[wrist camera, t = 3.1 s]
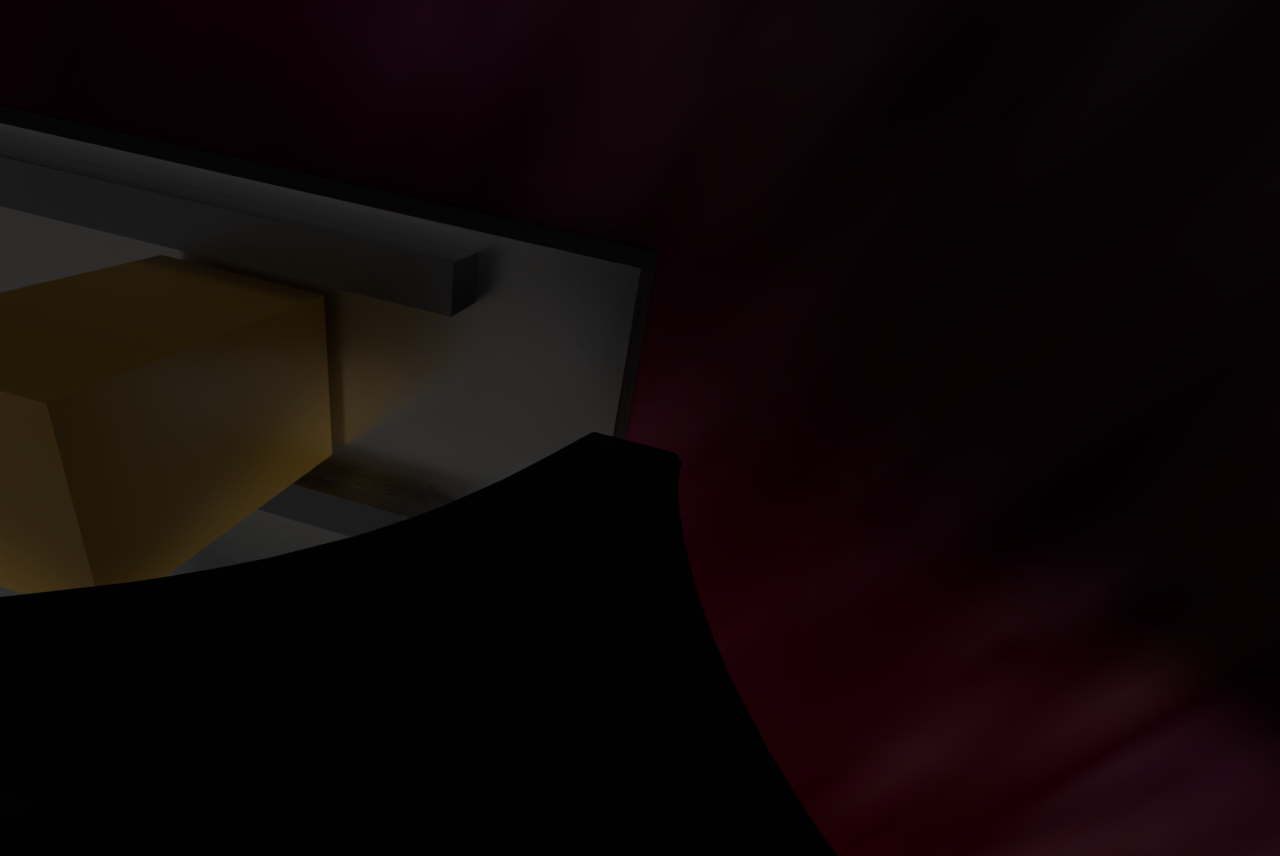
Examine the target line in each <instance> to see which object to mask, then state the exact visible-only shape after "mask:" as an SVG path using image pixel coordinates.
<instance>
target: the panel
mask: <svg viewBox="0 0 1280 856" xmlns="http://www.w3.org/2000/svg"><path fill="white" fill-rule="evenodd" d="M158 255H165V256H169V257H173V258H177V259H181V260H185V261H189V262H193V263H197V264H201V265H205V266H209V267H214V268H218V269H222V270H226V271H230V272H234V273H238V274H242V275H246V276H250V277H254V278H258V279H262V280H266V281H270V282H274V283H278V284H282V285H286V286H290V287H294V288H298V289H302V290H306V291H310V292H314V293H318V294H323V295H324V304H325V324H326V343H327V363H328V382H329V402H330V421H331V441H332V455H331V456H330V457H328V458H327V459H325V460H324V461H323V462H321V463H320V464H319V465H317V466H316V467H314V468H313V469H312V470H310V471H309V472H308V473H306V474H305V475H304V476H302V477H301V478H299V479H298V480H297V481H295V482H294V483H293V484H291V485H290V486H288V487H287V488H286V489H284V490H283V491H282V492H280V493H279V494H277V495H276V496H275V497H273V498H272V499H271V500H269V501H268V502H266V503H265V504H264V505H262V506H261V507H260V508H258V509H257V510H255V511H254V512H253V513H251V514H250V515H249V516H247V517H246V518H244V519H243V520H242V521H240V522H239V523H238V524H236V525H235V526H234V527H232V528H231V529H229V530H228V531H227V532H225V533H224V534H223V535H221V536H220V537H218V538H217V539H216V540H214V541H213V542H212V543H210V544H209V545H207V546H206V547H205V548H203V549H202V550H201V551H199V552H198V553H196V554H195V555H194V556H192V557H191V558H190V559H188V560H187V561H185V562H184V563H183V564H181V565H180V566H179V567H177V568H176V569H175V570H173V571H172V572H170V573H169V574H168V575H166V576H165V577H167V576H173V575H179V574H185V573H191V572H197V571H203V570H209V569H215V568H220V567H225V566H230V565H235V564H240V563H245V562H250V561H255V560H260V559H265V558H269V557H274V556H278V555H282V554H286V553H290V552H294V551H298V550H302V549H306V548H310V547H314V546H317V545H321V544H325V543H329V542H333V541H337V540H341V539H345V538H349V537H353V536H356V535H360V534H363V533H366V532H370V531H373V530H376V529H379V528H382V527H385V526H388V525H391V524H394V523H397V522H400V521H403V520H406V519H409V518H412V517H415V516H418V515H420V514H423V513H426V512H428V511H431V510H434V509H436V508H439V507H441V506H444V505H446V504H449V503H451V502H453V501H455V500H458V499H460V498H462V497H464V496H467V495H469V494H471V493H473V492H476V491H478V490H480V489H482V488H485V487H487V486H489V485H491V484H493V483H496V482H498V481H500V480H502V479H505V478H507V477H509V476H511V475H513V474H515V473H516V472H518V471H520V470H522V469H524V468H526V467H528V466H530V465H532V464H534V463H536V462H538V461H540V460H542V459H543V458H545V457H547V456H549V455H551V454H553V453H554V452H556V451H558V450H560V449H562V448H564V447H565V446H567V445H569V444H571V443H573V442H575V441H576V440H578V439H580V438H582V437H584V436H586V435H588V434H590V433H592V432H597V433H601V434H605V435H609V436H612V437H616V438H620V439H624V440H625V437H626V431H627V426H628V420H629V414H630V409H631V403H632V397H633V392H634V386H635V380H636V375H637V369H638V363H639V358H640V352H641V346H642V341H643V335H644V330H645V324H646V318H647V313H648V307H649V301H650V296H651V290H652V284H653V279H654V273H655V267H656V262H657V256H658V252H655V251H650V250H646V249H642V248H637V247H633V246H628V245H624V244H619V243H615V242H610V241H606V240H601V239H597V238H592V237H588V236H583V235H579V234H574V233H570V232H565V231H561V230H556V229H552V228H547V227H543V226H538V225H534V224H529V223H525V222H520V221H516V220H511V219H507V218H502V217H498V216H493V215H489V214H485V213H480V212H476V211H471V210H467V209H462V208H458V207H453V206H449V205H444V204H440V203H435V202H431V201H426V200H422V199H417V198H413V197H408V196H404V195H399V194H395V193H390V192H386V191H381V190H377V189H372V188H368V187H363V186H359V185H354V184H350V183H345V182H341V181H336V180H332V179H327V178H323V177H319V176H314V175H310V174H305V173H301V172H296V171H292V170H287V169H283V168H278V167H274V166H269V165H265V164H260V163H256V162H251V161H247V160H242V159H238V158H233V157H229V156H224V155H220V154H215V153H211V152H206V151H202V150H197V149H193V148H188V147H184V146H179V145H175V144H170V143H166V142H161V141H157V140H153V139H148V138H144V137H139V136H135V135H130V134H126V133H121V132H117V131H112V130H108V129H103V128H99V127H94V126H90V125H85V124H81V123H76V122H72V121H67V120H63V119H58V118H54V117H49V116H45V115H40V114H36V113H31V112H27V111H22V110H18V109H13V108H9V107H4V106H0V292H5V291H9V290H13V289H17V288H22V287H26V286H30V285H34V284H39V283H43V282H47V281H52V280H56V279H60V278H64V277H69V276H73V275H77V274H81V273H86V272H90V271H94V270H98V269H103V268H107V267H111V266H116V265H120V264H124V263H128V262H133V261H137V260H141V259H145V258H150V257H154V256H158ZM13 595H22V593H19V592H16V591H13V590H10V589H7V588H4V587H1V586H0V597H4V596H13Z"/></svg>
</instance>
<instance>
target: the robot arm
mask: <svg viewBox="0 0 1280 856" xmlns="http://www.w3.org/2000/svg"><path fill="white" fill-rule="evenodd" d="M681 465H682V462H681V460H680V459H679V457H678V455H677V454H676V453H674V452H670V451H666V450H662V449H658V448H654V447H651V446H647V445H643V444H639V443H635V442H632V441H628V440H624V439H620V438H616V437H612V436H609V435H605V434H601V433H597V432H592V433H590V434H588V435H586V436H584V437H582V438H580V439H578V440H576V441H575V442H573V443H571V444H569V445H567V446H565V447H564V448H562V449H560V450H558V451H556V452H554V453H553V454H551V455H549V456H547V457H545V458H543V459H542V460H540V461H538V462H536V463H534V464H532V465H530V466H528V467H526V468H524V469H522V470H520V471H518V472H516V473H515V474H513V475H511V476H509V477H507V478H505V479H502V480H500V481H498V482H496V483H493V484H491V485H489V486H487V487H485V488H482V489H480V490H478V491H476V492H473V493H471V494H469V495H467V496H464V497H462V498H460V499H458V500H455V501H453V502H451V503H449V504H446V505H444V506H441V507H439V508H436V509H434V510H431V511H428V512H426V513H423V514H420V515H418V516H415V517H412V518H409V519H406V520H403V521H400V522H397V523H394V524H391V525H388V526H385V527H382V528H379V529H376V530H373V531H370V532H366V533H363V534H360V535H356V536H353V537H349V538H345V539H341V540H337V541H333V542H329V543H325V544H321V545H317V546H314V547H310V548H306V549H302V550H298V551H294V552H290V553H286V554H282V555H278V556H274V557H269V558H265V559H260V560H255V561H250V562H245V563H240V564H235V565H230V566H225V567H220V568H215V569H209V570H203V571H197V572H191V573H185V574H179V575H173V576H167V577H161V578H154V579H147V580H140V581H133V582H126V583H119V584H110V585H101V586H92V587H83V588H75V589H66V590H57V591H48V592H39V593H31V594H22V595H13V596H4V597H0V856H837V855H836V854H835V852H834V851H833V849H832V848H831V847H830V845H829V844H828V842H827V841H826V840H825V838H824V837H823V835H822V834H821V833H820V831H819V830H818V828H817V827H816V825H815V824H814V822H813V821H812V819H811V818H810V816H809V815H808V813H807V812H806V810H805V809H804V807H803V806H802V804H801V803H800V801H799V800H798V798H797V796H796V795H795V793H794V791H793V790H792V788H791V786H790V785H789V783H788V781H787V780H786V778H785V776H784V775H783V773H782V772H781V770H780V768H779V767H778V765H777V763H776V762H775V760H774V758H773V757H772V755H771V753H770V752H769V750H768V748H767V746H766V744H765V742H764V741H763V739H762V737H761V735H760V733H759V731H758V729H757V727H756V725H755V723H754V722H753V720H752V718H751V716H750V714H749V712H748V710H747V708H746V706H745V704H744V702H743V701H742V699H741V697H740V695H739V693H738V691H737V689H736V687H735V685H734V683H733V682H732V679H731V677H730V675H729V673H728V671H727V668H726V666H725V664H724V661H723V659H722V657H721V654H720V652H719V650H718V647H717V645H716V643H715V640H714V638H713V635H712V632H711V630H710V627H709V625H708V622H707V619H706V617H705V614H704V611H703V608H702V605H701V602H700V599H699V596H698V593H697V589H696V586H695V582H694V579H693V575H692V571H691V568H690V564H689V560H688V556H687V551H686V547H685V542H684V536H683V530H682V524H681V518H680V510H679V499H678V478H679V474H680V469H681Z"/></svg>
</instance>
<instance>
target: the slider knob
mask: <svg viewBox="0 0 1280 856" xmlns="http://www.w3.org/2000/svg"><path fill="white" fill-rule="evenodd" d="M331 455H332V441H331V421H330V402H329V382H328V363H327V343H326V324H325V304H324V295H323V294H318V293H314V292H310V291H306V290H302V289H298V288H294V287H290V286H286V285H282V284H278V283H274V282H270V281H266V280H262V279H258V278H254V277H250V276H246V275H242V274H238V273H234V272H230V271H226V270H222V269H218V268H214V267H209V266H205V265H201V264H197V263H193V262H189V261H185V260H181V259H177V258H173V257H169V256H165V255H158V256H154V257H150V258H145V259H141V260H137V261H133V262H128V263H124V264H120V265H116V266H111V267H107V268H103V269H98V270H94V271H90V272H86V273H81V274H77V275H73V276H69V277H64V278H60V279H56V280H52V281H47V282H43V283H39V284H34V285H30V286H26V287H22V288H17V289H13V290H9V291H5V292H0V586H1V587H4V588H7V589H10V590H13V591H16V592H19V593H22V594H31V593H39V592H48V591H57V590H66V589H75V588H83V587H92V586H101V585H110V584H119V583H126V582H133V581H140V580H147V579H154V578H161V577H165V576H166V575H168V574H169V573H170V572H172V571H173V570H175V569H176V568H177V567H179V566H180V565H181V564H183V563H184V562H185V561H187V560H188V559H190V558H191V557H192V556H194V555H195V554H196V553H198V552H199V551H201V550H202V549H203V548H205V547H206V546H207V545H209V544H210V543H212V542H213V541H214V540H216V539H217V538H218V537H220V536H221V535H223V534H224V533H225V532H227V531H228V530H229V529H231V528H232V527H234V526H235V525H236V524H238V523H239V522H240V521H242V520H243V519H244V518H246V517H247V516H249V515H250V514H251V513H253V512H254V511H255V510H257V509H258V508H260V507H261V506H262V505H264V504H265V503H266V502H268V501H269V500H271V499H272V498H273V497H275V496H276V495H277V494H279V493H280V492H282V491H283V490H284V489H286V488H287V487H288V486H290V485H291V484H293V483H294V482H295V481H297V480H298V479H299V478H301V477H302V476H304V475H305V474H306V473H308V472H309V471H310V470H312V469H313V468H314V467H316V466H317V465H319V464H320V463H321V462H323V461H324V460H325V459H327V458H328V457H330V456H331Z"/></svg>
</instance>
